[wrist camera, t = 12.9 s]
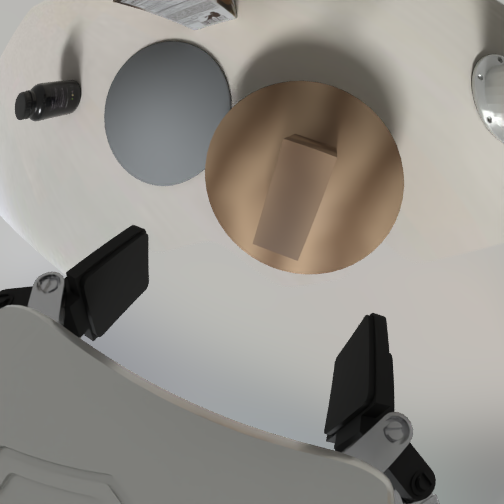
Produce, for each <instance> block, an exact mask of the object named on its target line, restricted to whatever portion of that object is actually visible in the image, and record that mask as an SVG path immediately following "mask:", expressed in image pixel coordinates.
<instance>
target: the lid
mask: <svg viewBox="0 0 504 504" xmlns="http://www.w3.org/2000/svg"><path fill="white" fill-rule="evenodd" d="M205 181H206V189H207V193H208V197H209V201H210V204H211V207H212V209H213V212H214V214H215V216H216V218H217V220H218V222H219V223H220V225H221V226H222V228H223V229H224V231H225V232H226V233H227V235H228V236H229V237H230V238H231V239H232V240H233V242H235V243H236V244H237V245H238V246H239V247H240V248H241V249H242V250H243V251H245V252H246V253H247V254H249V255H250V256H252V257H253V258H255V259H257V260H258V261H260V262H262V263H264V264H266V265H268V266H271V267H273V268H276V269H279V270H282V271H287V272H292V273H298V274H321V273H328V272H333V271H337V270H340V269H343V268H346V267H348V266H351V265H353V264H354V263H356V262H358V261H360V260H362V259H363V258H365V257H366V256H367V255H369V254H370V253H371V252H372V251H374V250H375V249H376V248H377V247H378V246H379V245H380V244H381V243H382V241H383V240H384V239H385V237H386V236H387V235H388V234H389V232H390V230H391V228H392V227H393V225H394V223H395V221H396V219H397V216H398V214H399V211H400V207H401V203H402V199H403V190H404V175H403V167H402V162H401V157H400V154H399V151H398V148H397V145H396V143H395V141H394V139H393V137H392V135H391V133H390V132H389V130H388V129H387V127H386V126H385V124H384V123H383V121H382V120H381V119H380V118H379V117H378V116H377V115H376V114H375V113H374V111H373V110H372V109H371V108H369V107H368V106H367V105H366V104H364V103H363V102H362V101H361V100H359V99H358V98H356V97H354V96H353V95H351V94H349V93H347V92H345V91H343V90H341V89H338V88H336V87H333V86H330V85H326V84H322V83H318V82H310V81H289V82H283V83H277V84H273V85H270V86H267V87H264V88H261V89H259V90H257V91H255V92H253V93H251V94H250V95H248V96H247V97H245V98H244V99H242V100H241V101H239V102H238V103H237V104H236V105H235V106H234V107H233V108H232V109H231V110H230V111H229V112H228V113H227V114H226V115H225V117H224V118H223V119H222V120H221V122H220V124H219V125H218V127H217V129H216V130H215V132H214V135H213V137H212V139H211V142H210V145H209V148H208V152H207V157H206V164H205Z"/></svg>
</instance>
